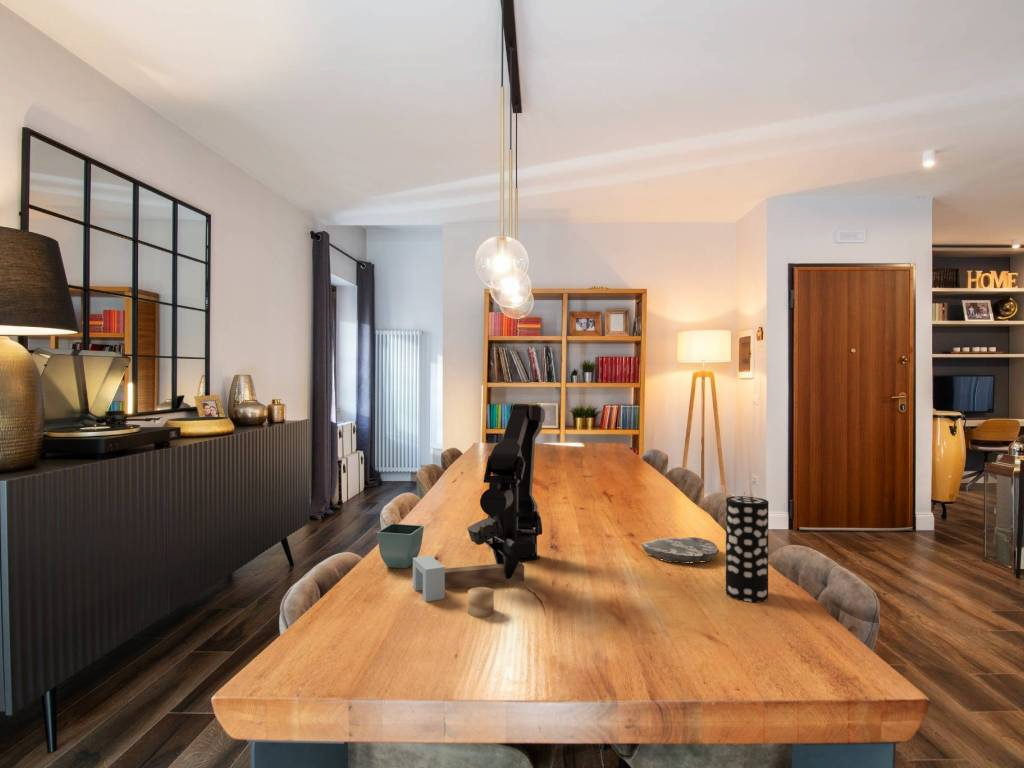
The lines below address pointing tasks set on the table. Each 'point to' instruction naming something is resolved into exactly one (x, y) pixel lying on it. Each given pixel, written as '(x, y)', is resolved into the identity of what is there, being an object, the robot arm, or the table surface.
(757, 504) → the white-spotted black cylinder
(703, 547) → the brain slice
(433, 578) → the grey arch block
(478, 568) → the brown wooden bar
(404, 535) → the flower pot
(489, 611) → the bead
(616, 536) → the table surface
